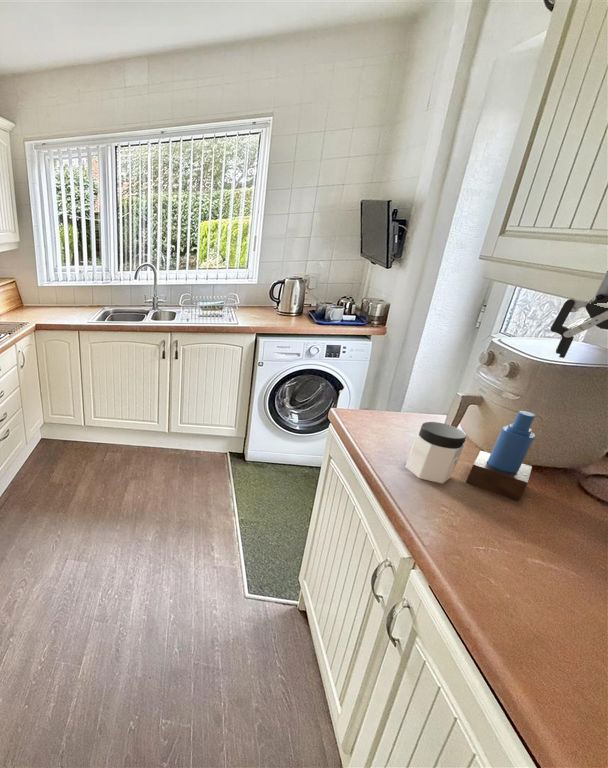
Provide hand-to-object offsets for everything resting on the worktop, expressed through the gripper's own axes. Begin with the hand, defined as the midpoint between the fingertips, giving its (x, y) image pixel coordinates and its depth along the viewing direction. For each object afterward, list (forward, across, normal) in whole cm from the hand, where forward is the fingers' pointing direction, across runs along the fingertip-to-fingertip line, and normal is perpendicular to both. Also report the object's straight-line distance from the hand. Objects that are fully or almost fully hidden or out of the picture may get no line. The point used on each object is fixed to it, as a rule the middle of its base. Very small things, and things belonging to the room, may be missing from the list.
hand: (596, 362), depth 71 cm
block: (+34, +5, -10) cm, 36 cm away
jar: (+34, +16, -3) cm, 38 cm away
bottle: (+29, +5, -10) cm, 31 cm away
